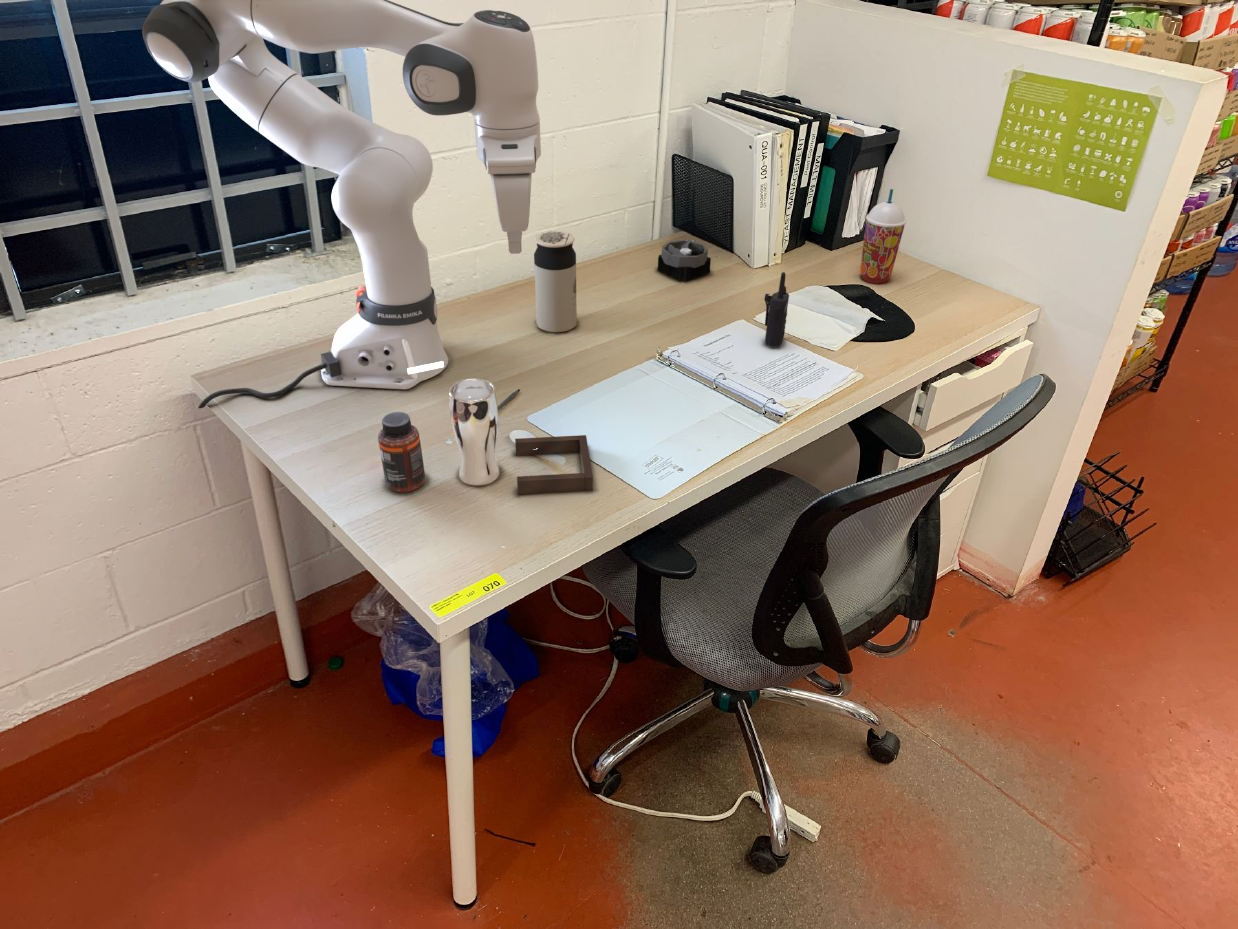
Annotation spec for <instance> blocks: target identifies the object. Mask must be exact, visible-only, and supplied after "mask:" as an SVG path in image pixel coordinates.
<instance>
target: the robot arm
mask: <svg viewBox="0 0 1238 929" xmlns="http://www.w3.org/2000/svg"><path fill="white" fill-rule="evenodd" d="M141 33H142V39H143V42H144V44H145V47H146V49H147V52H148V53H149V54H150V56H151V57H152V58H153V60H154V62H156V63H157V65H159V67H161V68H162V69H163V71H165V72H166V73H168V74H169V75H171V76H172V77H174V78H176V79H178V80H180V81H184V82H186V83H191V84H192V83H198V82H199V83H200V81H204V80H206V79H208V84H209V86H210V88H211V90H212V91H213V93H214V94H215V95H216V96H217V97H218V98H219V99H220V100H221V101H222V102H223V104H224V105H226V106H227V107H228V108H229V109H230V110H231V111H232V112H233V113H234V114H236V115H237V117H239V118H240V119H241V120H242V121H244V122H245V123H246V124H247V125H248V126H250V127H251V128H252V129H254V130H255V131H256V132H258V133H259V134H260V135H262V136H263V137H265V138H266V139H267V140H269V141H270V142H271V143H273V144H274V145H276V147H278V148H279V149H281V150H283V151H284V152H285V153H287V154H288V155H289V156H291V157H292V158H293V159H294V160H296V161H298V162H299V163H300V164H303V165H305V166H307V167H311V168H319V169H322V170H326V171H329V172H331V173H333V174H336V175H337V176H338V177H337V179H336V180H335V183H334V185H333V187H332V191H331V204H332V209H333V211H334V213H335V215H336V216H337V218H338V220H339V221H340V222H341V223H342V224H343V225H344V226H346V227H347V228H348V229H350V232H351V234H352V236H353V238H354V241H355V243H356V246H357V249H358V251H359V256H360V259H361V265H362V271H363V277H364V282H365V283H364V284H365V286H364V285H360V286H359V287H357V289H356V293H355V297H356V302H355V303H356V311H357V313H356V314H354V315H353V316H352V317H350V318H349V319H348V320H347V321H346V322H345V323H343V324H342V325H340V326H339V327H338V329H337V331H336V332H335V334H334V336H333V339H332V344H331V349H330V350H329V351H327V352H324V353H320V358H321V364H319V365H316V366H314V367H312V368H308V369H307V370H305V371H304V372H302V373H301V374H300V375H299V376H297V377H296V379H295V380H293V381H292V382H291V383H289V384H287V385H286V386H285V387H284V388H282V389H280V390H277V391H276V390H275V391H273V392H262V391H259V390H257V389H253V388H250V387H237V388H226V389H221V390H218V391H214V392H212V393H211V394H209V395H208V396H206V397H205V398H204V399H203V400H202V401H201V402H200V403H199V405H198V407H197V409H203V408H205V407H206V406H207V404H209V403H210V402H211V401H213V400H214V399H216V398H218V397H221V396H226V395H233V394H251V395H253V396H255V397H259V398H262V399H271V398H277V397H280V396H283V395H284V394H286V393H288V392H289V391H291V390H292V389H293V388H295V387H296V386H297V385H299V384H300V383H301V382H302V381H303V380H304V379H305V378H307V377H309V376H310V375H313V374H314V373H316V372H318V371H319V372H320V373H321V379H322V381H323V382H324V383H325V384H326V385H328V386H335V387H351V388H352V387H353V388H370V389H371V388H372V389H373V388H374V389H387V390H388V389H389V390H409V389H412V388H413V387H416V385H418V384H419V383H421V382H423V381H425V380H428V379H431V378H433V377H436V376H437V375H438V374H440V373H442V372H443V371H444V370H445V369H446V368H447V366H448V364H449V357H448V355H447V353H446V351H445V348H444V345H443V342H442V339H441V336H440V332H439V328H438V324H437V321H438V306H437V297H436V295H435V290H434V288H433V287H432V282H431V273H430V272H431V271H430V262H429V253H428V252H429V251H428V249H427V246H426V244H425V243H424V242H423V241H422V240H421V238H420V237H419V234H418V232H417V229H416V226H415V222H414V218H413V210H414V206H415V204H416V202H417V201H418V200H420V198H421V197H422V196H423V195H424V194H425V193H426V191H427V189H428V188H429V185H430V183H431V179H432V175H433V171H434V164H433V158H432V155H431V153H430V151H429V149H428V148H427V147H426V145H425V144H424V143H423V142H422V141H420V140H419V139H418V138H416V137H413V136H411V135H408V134H404V133H403V134H402V133H398V132H394V131H392V130H390V129H388V128H386V127H383V126H381V125H380V124H377V123H375V122H373V121H371V120H369V119H368V118H365V117H363V116H361V115H359V114H357V113H355V112H353V111H351V110H349V109H348V108H346V107H345V106H343V105H342V104H340V103H338V102H337V101H336V100H334V99H333V98H331V97H330V96H328V94H326V93H324V91H322V90H321V89H319V88H318V87H317V86H315V85H314V84H313V83H311V82H310V81H308V80H307V79H306V78H305V77H303V76H302V75H301V74H299V73H298V72H297V71H295V70H294V69H292V68H291V67H290V66H288V65H287V64H285V63H283V61H281V60H279V59H278V58H277V57H276V56H274V54H272V53H271V51H269V49H268V47H267V46H266V43H265V41H264V40H266V41H267V42H270V43H273V44H274V45H276V46H279V47H282V48H285V49H289V50H292V51H296V52H300V53H305V54H321V53H322V54H323V53H329V52H334V51H341V50H347V49H356V48H357V49H358V48H372V49H373V48H374V49H382V50H384V51H388V52H390V53H391V52H392V53H394V54H397V55H399V56H402V57H404V60H403V64H402V80H403V85H404V88H405V90H406V93H407V95H408V96H409V98H410V99H411V101H412V102H413V104H414V105H415V106H416V107H417V108H419V109H420V110H421V111H422V112H424V113H425V114H428V115H431V116H442V117H443V116H451V115H459V114H463V113H469V114H471V115H472V116H473V119H474V132H475V146H476V157H477V158H478V159H479V160H481V162H482V163H483V165H484V167H485V170H486V174H488V175H489V176H490V179H491V183H492V188H493V193H494V199H495V205H496V210H497V217H498V221H499V225H500V229H501V231H502V232H504V233H506V235H507V243H508V245H507V246H508V253H510V254H511V255H515V254H516V255H517V254H521V253H522V251H523V248H522V237H523V232H526V231H528V229H529V224H530V213H531V196H532V195H531V193H532V175H533V174H534V173H536V168H537V162H538V160H539V159H540V158H541V155H542V145H541V143H542V142H541V121H540V120H541V118H540V114H539V111H538V106H537V96H538V91H539V70H538V59H537V51H536V50H537V49H536V44H535V38H534V34H533V31H532V29H531V27H530V24H529V23H528V22H527V21H526V20H524V19H523V18H522V17H520V16H519V15H516V14H514V13H510V12H507V11H504V10H503V11H502V10H492V9H484V10H479V11H476V12H475V13H473V14H472V15H471V17H470V18H468V19H467V21H466V20H465V22H456V23H455V22H448V21H444V20H442V19H440V18H436V17H434V16H431V15H428V14H426V13H423V12H420V11H418V10H415V9H412V8H409V7H406V6H405V5H402V4H399V3H396V2H393V1H391V0H162V1H161V2H160V4H158V5H156V6H154V7H153V8H152V9H151V11H150V12H149V14H148V15H147V17H146V19H145V20H144V22H143V25H142V29H141Z"/></svg>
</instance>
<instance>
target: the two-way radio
mask: <svg viewBox="0 0 1238 929" xmlns="http://www.w3.org/2000/svg"><path fill="white" fill-rule="evenodd" d="M785 283H786V272H785V271H782V272H781V273H780V279H779V286H778V291H776V292H774V293H773V294H772V295H770V293H765V294H764V302H765V319H764V326H765V327H766V329H765V338H764V343H765V345H767V346H768V347H771V348H780V347H781V345H782V344H783V341H784V338H785V333H786V324H787V317H788V305H789V298H790V294H789V293H788V292H787V286H786V284H785Z"/></svg>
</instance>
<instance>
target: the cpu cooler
mask: <svg viewBox="0 0 1238 929" xmlns="http://www.w3.org/2000/svg"><path fill="white" fill-rule="evenodd" d="M661 246H662V247H661V254H659V255H658V257H657V271H658V272H660V273H661V274H665V275H666V276H669V277H670V278H673V279H675V280H677V281H678V282H681V281H682V282H683V281H684V282H688V281H691V280H694V279H696V278H697V279H698V278H699V277H700V278H701V277H702V276H706V275H709V274H711V263H712V262H711V260H712V258H711V257H709V256H708V253H709V248H708V247H706V245H705V244H703V243H701V242H699V241H697V240H694V239H686V238H684V239H680V240H670V241H668V242H666V243H664V244H662V245H661Z"/></svg>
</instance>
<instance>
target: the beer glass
mask: <svg viewBox="0 0 1238 929" xmlns="http://www.w3.org/2000/svg"><path fill="white" fill-rule="evenodd" d="M448 394H449V395H448V396H449V399H448V400H449V401H448V402H449V406H448V407H449V408H448V409H449V419H450V426H451V430H452V433H453V437H454V439H455V442H456V445H457V449H458V453H459V471H458V477H459V479H460V480H461V481H462V482H463V483H464V484H467V485H470V486H475V487H477V486H478V487H479V486H486V485H489V484H492V483H493V482H495V481H496V480H497V479H498V478H499V476H500V468H499V465H498V461H497V456H496V447H497V446H496V445H497V439H498V431H499V407H498V400H497V394H496V387H495V385H494V384H493V383H492V381H489V380H486V379H484V378H476V377H475V378H471V377H470V378H466V379H465V378H464V379H460V380H458V381H456V382H454V383H453V384H452V385H451V386H450V387H449V389H448Z"/></svg>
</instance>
